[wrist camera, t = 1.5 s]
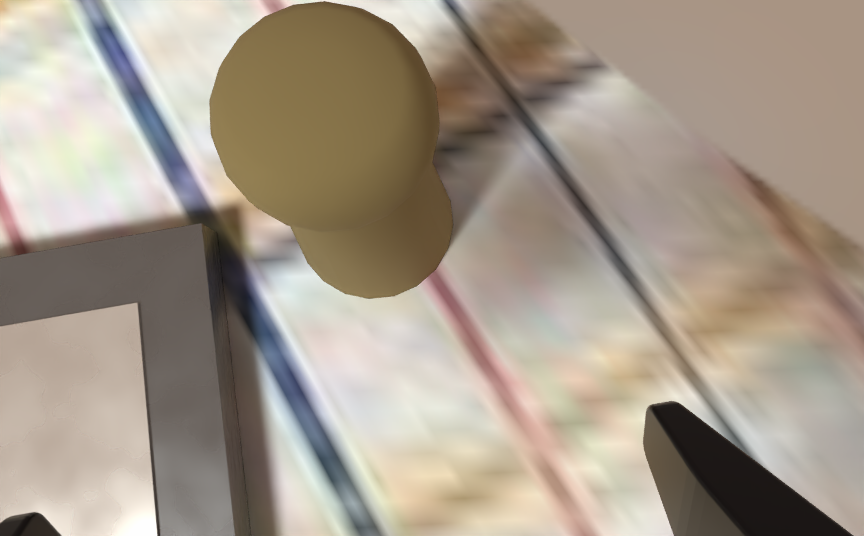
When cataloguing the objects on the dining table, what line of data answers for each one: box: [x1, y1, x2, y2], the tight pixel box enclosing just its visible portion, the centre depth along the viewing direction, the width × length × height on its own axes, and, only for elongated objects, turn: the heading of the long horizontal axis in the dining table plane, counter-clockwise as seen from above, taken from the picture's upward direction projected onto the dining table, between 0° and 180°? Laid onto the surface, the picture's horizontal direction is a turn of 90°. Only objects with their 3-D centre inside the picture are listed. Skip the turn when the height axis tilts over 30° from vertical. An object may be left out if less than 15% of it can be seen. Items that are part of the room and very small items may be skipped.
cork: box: [210, 1, 453, 299], centre depth 18 cm, size 6×6×11 cm
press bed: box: [0, 223, 251, 536], centre depth 21 cm, size 14×14×2 cm
